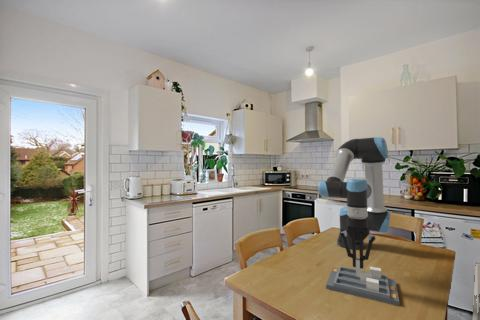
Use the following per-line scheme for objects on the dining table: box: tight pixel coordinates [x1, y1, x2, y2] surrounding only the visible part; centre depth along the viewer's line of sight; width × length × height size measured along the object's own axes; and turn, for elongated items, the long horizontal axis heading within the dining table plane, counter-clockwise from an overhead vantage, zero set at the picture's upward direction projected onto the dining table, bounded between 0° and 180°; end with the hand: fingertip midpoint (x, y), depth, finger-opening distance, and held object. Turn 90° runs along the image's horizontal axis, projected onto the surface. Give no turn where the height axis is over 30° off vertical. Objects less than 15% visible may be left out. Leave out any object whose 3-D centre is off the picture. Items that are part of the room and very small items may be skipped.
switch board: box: [325, 265, 400, 306], centre depth 95 cm, size 18×24×3 cm
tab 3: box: [366, 278, 379, 292], centre depth 88 cm, size 3×4×4 cm
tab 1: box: [360, 269, 372, 282], centre depth 94 cm, size 3×4×4 cm
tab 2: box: [369, 265, 382, 279], centre depth 98 cm, size 3×4×4 cm
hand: (358, 275), depth 96 cm, fingers closed
